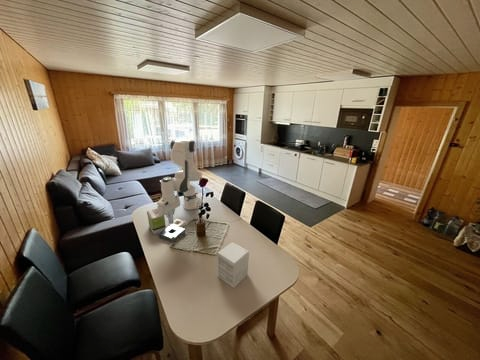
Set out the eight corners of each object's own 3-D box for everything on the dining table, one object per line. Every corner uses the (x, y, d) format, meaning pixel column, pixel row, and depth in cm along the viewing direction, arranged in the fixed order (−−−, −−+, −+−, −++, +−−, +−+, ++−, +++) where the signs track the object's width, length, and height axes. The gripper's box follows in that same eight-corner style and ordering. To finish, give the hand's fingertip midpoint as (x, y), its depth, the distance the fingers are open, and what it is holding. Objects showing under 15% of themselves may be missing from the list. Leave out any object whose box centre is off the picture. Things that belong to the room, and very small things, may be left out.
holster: (176, 221, 172) (176, 218, 171) (186, 224, 168) (185, 221, 167) (168, 227, 163) (168, 224, 162) (178, 230, 159) (178, 226, 158)
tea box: (148, 226, 163) (146, 210, 158) (161, 222, 169) (159, 207, 164) (153, 235, 152) (151, 218, 147) (166, 230, 158) (164, 214, 153)
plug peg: (171, 221, 151) (169, 207, 147) (175, 222, 149) (174, 208, 145) (167, 223, 147) (165, 209, 143) (171, 224, 145) (170, 210, 142)
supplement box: (232, 264, 125) (232, 241, 119) (248, 274, 117) (249, 250, 112) (217, 276, 115) (216, 252, 110) (233, 288, 107) (234, 263, 102)
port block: (171, 228, 161) (171, 224, 159) (185, 233, 156) (185, 228, 154) (159, 238, 148) (158, 233, 147) (173, 243, 143) (172, 237, 142)
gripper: (175, 193, 152) (176, 209, 156) (155, 203, 134) (157, 221, 138) (181, 194, 150) (182, 210, 154) (162, 205, 132) (164, 223, 136)
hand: (170, 215), depth 146 cm, fingers closed on plug peg, 4 cm apart
